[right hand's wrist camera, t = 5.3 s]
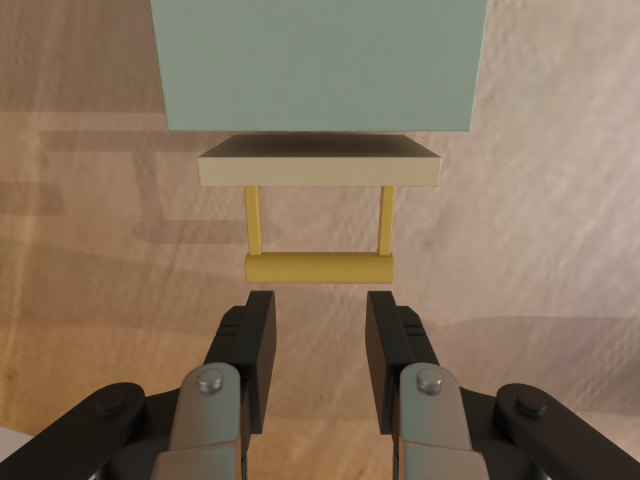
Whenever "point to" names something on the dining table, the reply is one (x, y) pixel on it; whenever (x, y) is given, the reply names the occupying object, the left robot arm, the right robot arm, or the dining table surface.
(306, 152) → the drawer
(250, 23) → the cabinet
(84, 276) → the dining table surface
